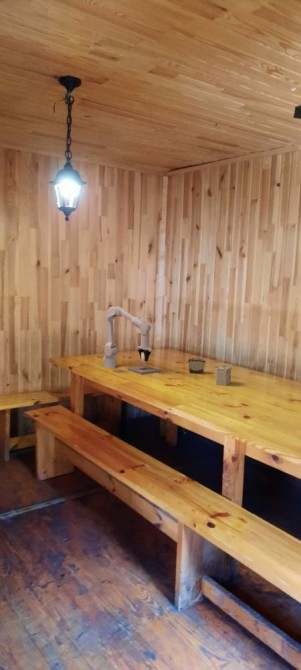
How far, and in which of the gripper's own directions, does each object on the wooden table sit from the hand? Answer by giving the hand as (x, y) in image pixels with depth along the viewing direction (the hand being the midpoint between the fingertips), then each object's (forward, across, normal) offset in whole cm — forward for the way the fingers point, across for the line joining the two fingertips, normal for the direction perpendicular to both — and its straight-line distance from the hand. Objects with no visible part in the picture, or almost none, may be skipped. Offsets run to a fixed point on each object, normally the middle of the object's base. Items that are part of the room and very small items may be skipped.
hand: (144, 360), depth 333 cm
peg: (+1, 0, 0) cm, 1 cm away
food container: (+9, +18, +32) cm, 38 cm away
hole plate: (+8, 0, 0) cm, 8 cm away
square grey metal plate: (+8, -7, -15) cm, 19 cm away
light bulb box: (+9, +51, +24) cm, 57 cm away
